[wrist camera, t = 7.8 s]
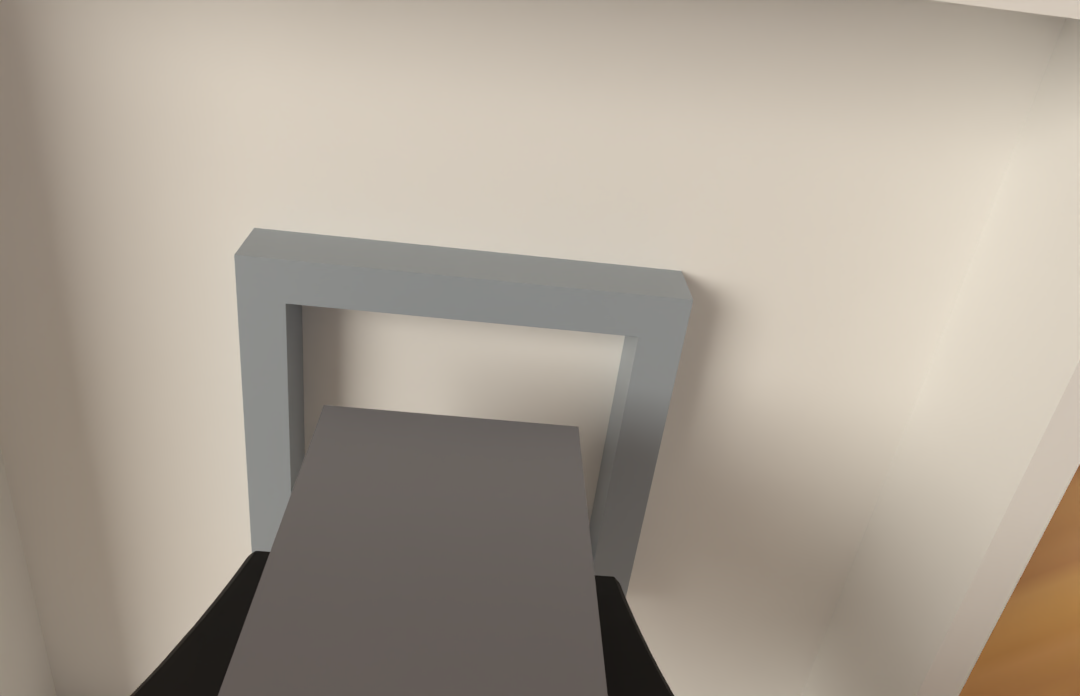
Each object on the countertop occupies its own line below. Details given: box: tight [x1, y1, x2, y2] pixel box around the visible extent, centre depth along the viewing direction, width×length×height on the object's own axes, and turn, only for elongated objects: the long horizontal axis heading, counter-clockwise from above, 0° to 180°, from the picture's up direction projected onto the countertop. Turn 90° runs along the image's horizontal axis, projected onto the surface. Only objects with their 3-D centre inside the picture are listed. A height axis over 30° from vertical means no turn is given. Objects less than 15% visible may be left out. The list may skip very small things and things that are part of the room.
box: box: [0, 0, 1080, 696], centre depth 16 cm, size 20×20×4 cm
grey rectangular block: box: [218, 405, 608, 696], centre depth 11 cm, size 4×4×7 cm
